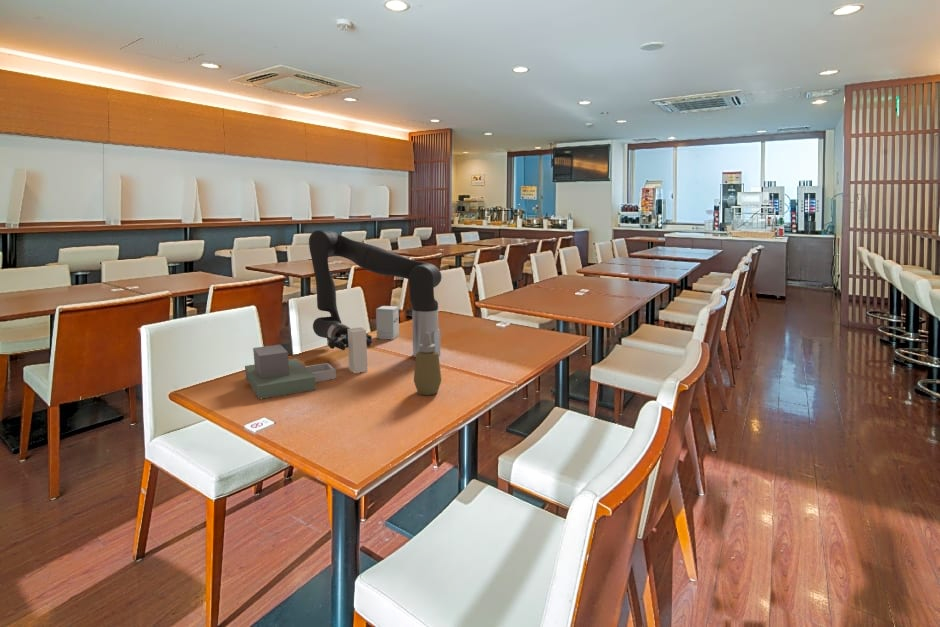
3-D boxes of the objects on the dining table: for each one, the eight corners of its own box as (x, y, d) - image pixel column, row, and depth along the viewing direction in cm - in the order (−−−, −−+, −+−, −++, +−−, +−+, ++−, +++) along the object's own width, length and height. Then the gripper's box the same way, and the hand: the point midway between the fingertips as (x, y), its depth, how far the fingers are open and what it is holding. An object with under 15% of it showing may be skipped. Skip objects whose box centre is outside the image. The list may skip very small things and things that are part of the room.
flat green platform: (322, 366, 179) (320, 334, 177) (342, 384, 161) (341, 350, 159) (245, 378, 167) (242, 344, 165) (258, 399, 149) (255, 362, 146)
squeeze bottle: (414, 388, 158) (413, 329, 155) (441, 387, 159) (440, 329, 155) (413, 397, 151) (412, 336, 147) (442, 396, 151) (441, 336, 148)
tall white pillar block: (362, 367, 178) (361, 327, 175) (367, 371, 174) (365, 330, 171) (349, 370, 175) (347, 329, 172) (354, 373, 172) (352, 331, 169)
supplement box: (393, 340, 214) (392, 309, 211) (376, 339, 215) (375, 308, 213) (399, 335, 221) (398, 306, 218) (382, 334, 222) (381, 305, 220)
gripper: (320, 327, 183) (334, 337, 169) (360, 322, 190) (376, 331, 176) (321, 348, 184) (335, 359, 171) (360, 342, 192) (377, 353, 178)
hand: (356, 345), depth 174 cm, fingers open, 8 cm apart
